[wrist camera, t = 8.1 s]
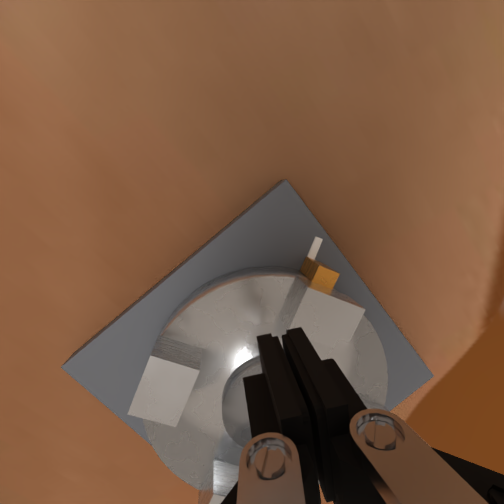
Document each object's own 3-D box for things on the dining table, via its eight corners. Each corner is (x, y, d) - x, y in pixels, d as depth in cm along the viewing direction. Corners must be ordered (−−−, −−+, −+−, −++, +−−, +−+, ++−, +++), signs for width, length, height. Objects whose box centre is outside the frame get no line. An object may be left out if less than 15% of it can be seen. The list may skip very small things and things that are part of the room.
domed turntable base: (205, 215, 22) (202, 223, 16) (410, 298, 25) (465, 328, 19) (118, 437, 24) (89, 509, 19) (314, 486, 27) (339, 559, 22)
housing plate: (280, 180, 24) (286, 179, 22) (419, 363, 29) (435, 377, 27) (72, 353, 25) (59, 368, 22) (243, 503, 29) (245, 527, 27)
